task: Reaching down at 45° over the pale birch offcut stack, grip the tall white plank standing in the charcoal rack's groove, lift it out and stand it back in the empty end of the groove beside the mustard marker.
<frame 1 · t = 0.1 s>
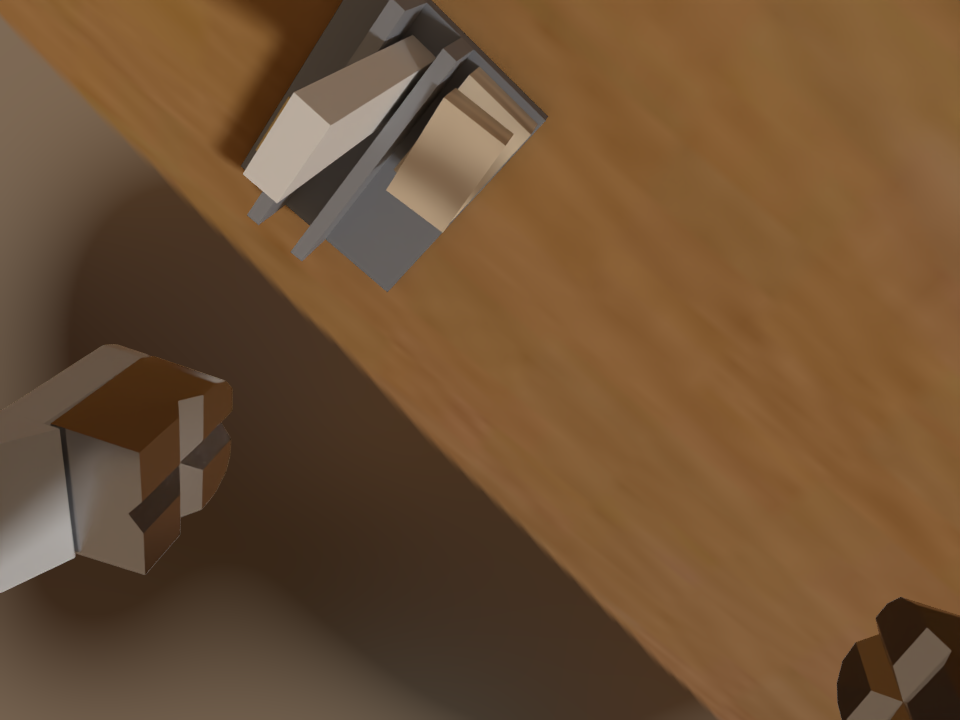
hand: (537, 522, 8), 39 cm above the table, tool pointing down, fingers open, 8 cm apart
plank: (402, 78, 43), point 1 cm above the table, touching rack
rack: (386, 140, 47), on the table
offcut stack: (469, 141, 45), point 1 cm above the table, touching rack
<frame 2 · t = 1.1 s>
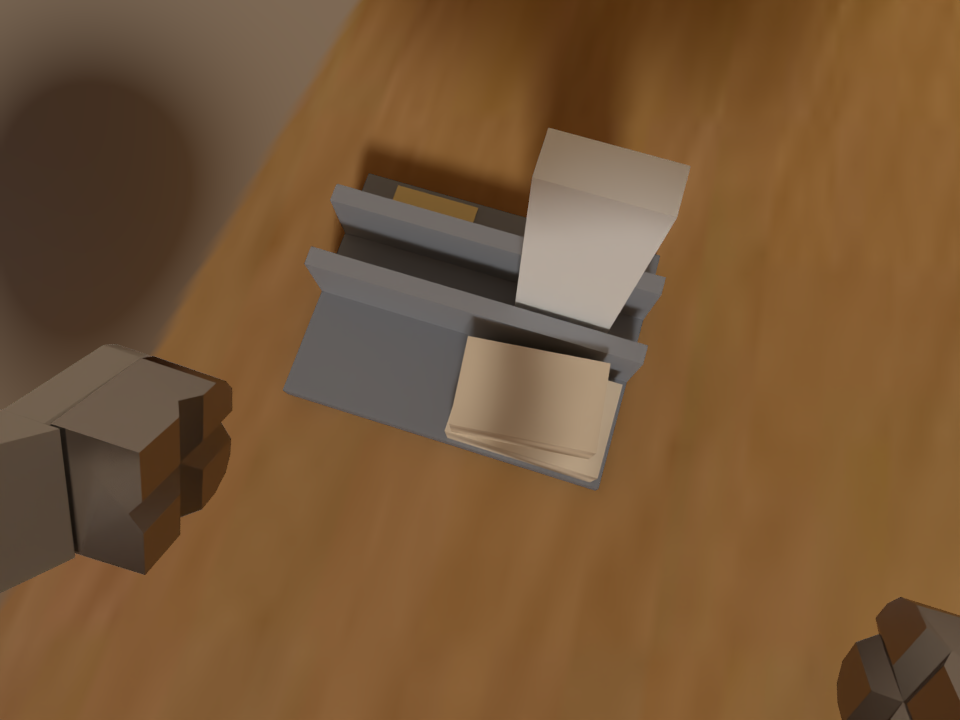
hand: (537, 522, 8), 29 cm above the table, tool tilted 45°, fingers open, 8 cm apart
plank: (559, 319, 38), point 1 cm above the table, touching rack
rack: (476, 326, 39), on the table
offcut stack: (531, 416, 37), point 1 cm above the table, touching rack
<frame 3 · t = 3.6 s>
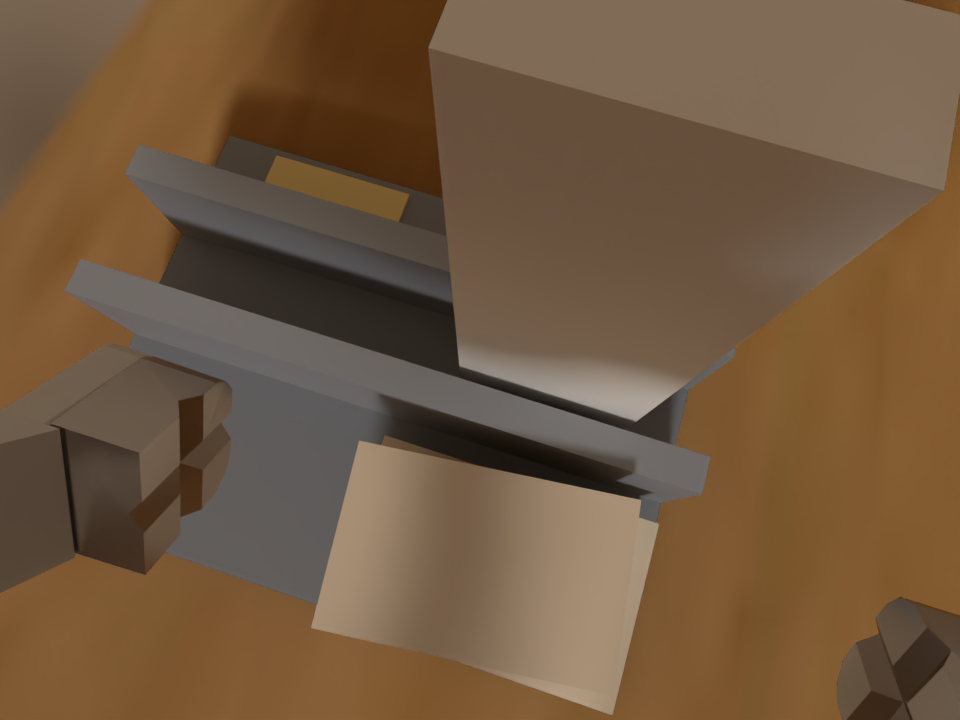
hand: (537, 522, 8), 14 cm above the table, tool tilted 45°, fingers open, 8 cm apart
plank: (544, 388, 22), point 1 cm above the table, touching rack
rack: (402, 396, 23), on the table
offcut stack: (490, 565, 21), point 1 cm above the table, touching rack
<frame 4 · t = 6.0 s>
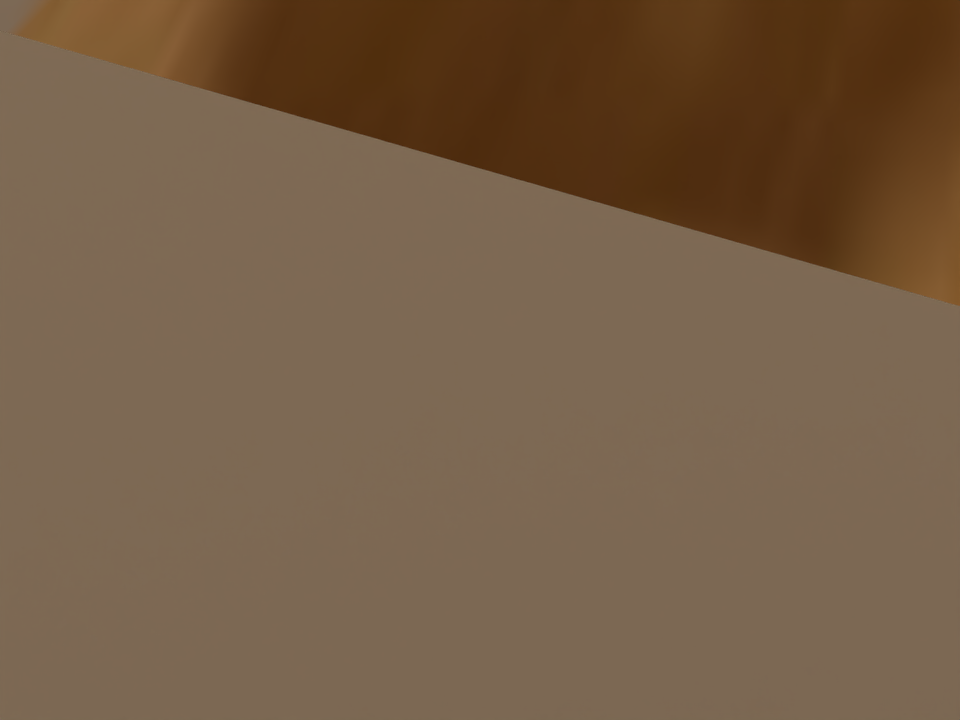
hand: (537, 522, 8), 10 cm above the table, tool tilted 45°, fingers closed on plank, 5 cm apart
plank: (497, 558, 17), point 1 cm above the table, touching gripper, rack
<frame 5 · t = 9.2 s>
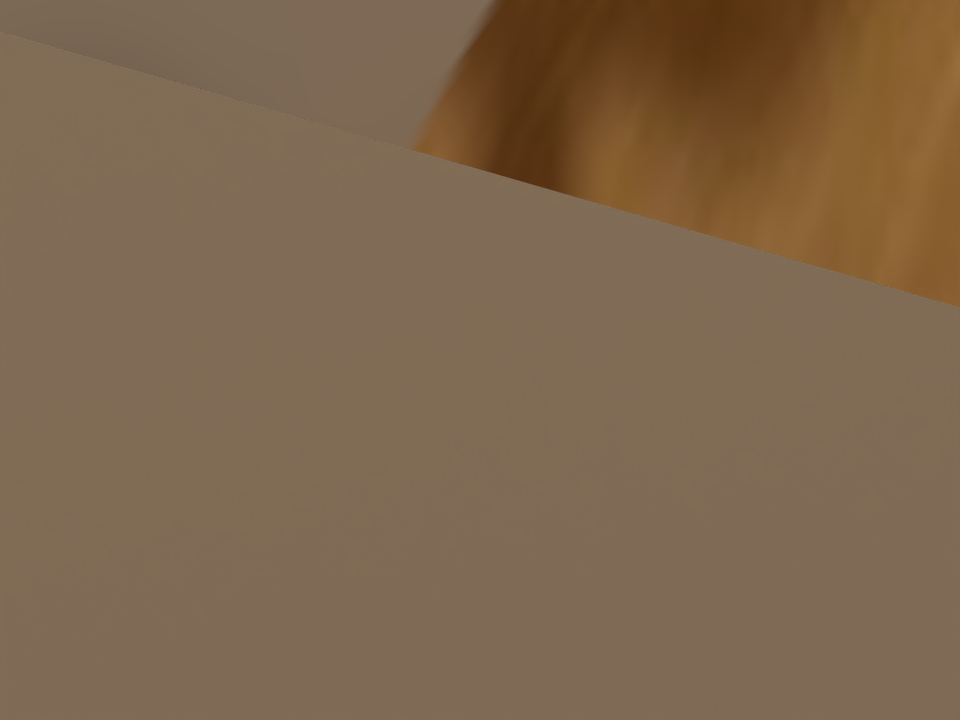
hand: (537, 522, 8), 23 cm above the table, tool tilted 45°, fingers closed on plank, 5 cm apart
plank: (497, 558, 17), point 14 cm above the table, touching gripper
when the fingers open (11 cm above the table, at t = 12.6 s): plank drops 1 cm, resting on rack.
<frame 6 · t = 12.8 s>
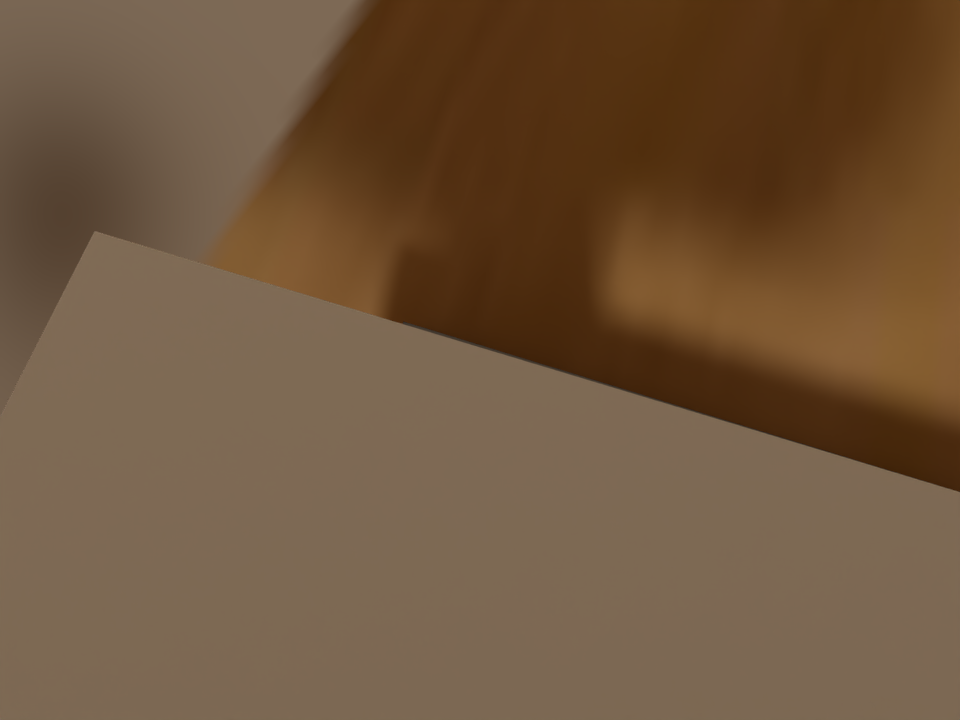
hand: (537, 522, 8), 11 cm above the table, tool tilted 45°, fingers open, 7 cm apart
plank: (498, 558, 18), point 1 cm above the table, touching rack
rack: (634, 661, 18), on the table
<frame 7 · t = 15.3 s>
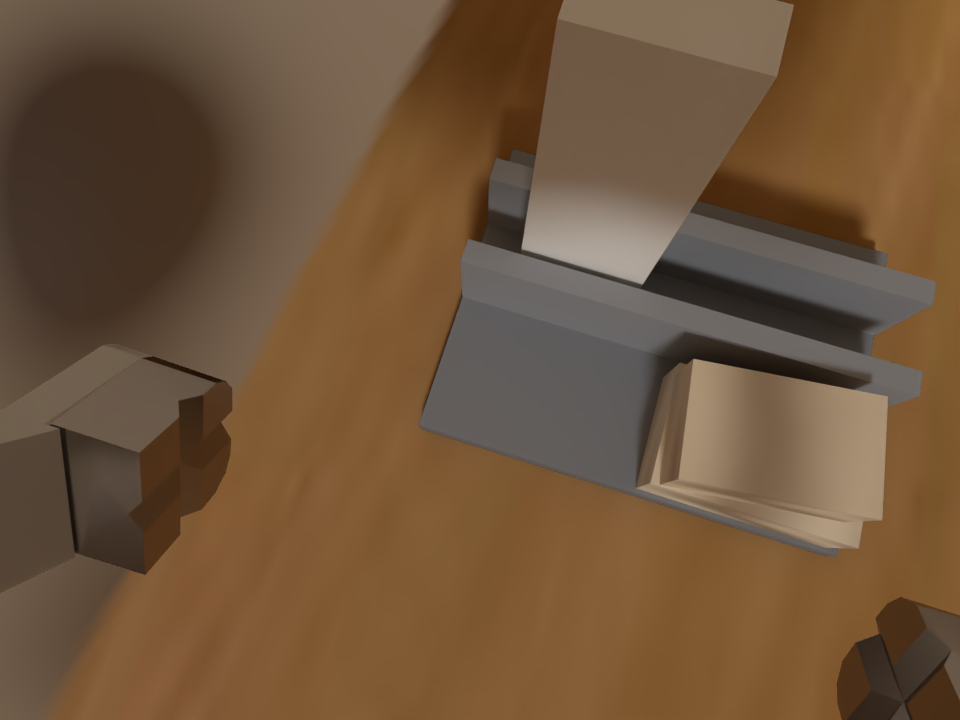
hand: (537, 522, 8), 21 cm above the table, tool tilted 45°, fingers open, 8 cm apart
plank: (575, 278, 31), point 1 cm above the table, touching rack
rack: (656, 342, 31), on the table
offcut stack: (741, 459, 29), point 1 cm above the table, touching rack
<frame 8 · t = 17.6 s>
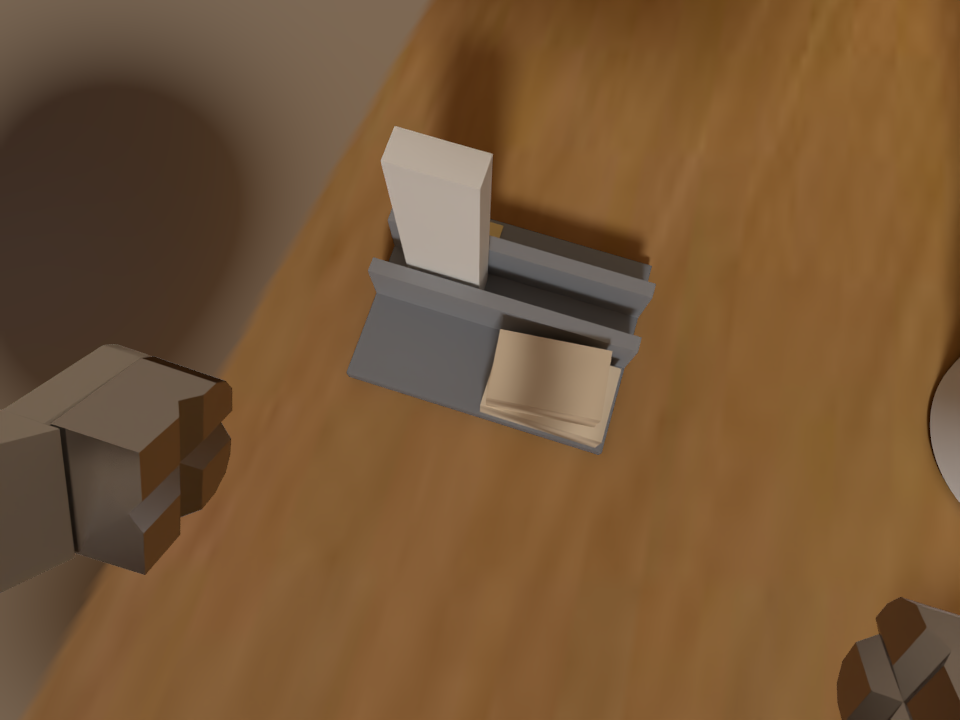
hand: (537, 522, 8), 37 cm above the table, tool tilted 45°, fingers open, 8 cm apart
plank: (449, 281, 48), point 1 cm above the table, touching rack
rack: (502, 322, 48), on the table
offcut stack: (547, 394, 46), point 1 cm above the table, touching rack
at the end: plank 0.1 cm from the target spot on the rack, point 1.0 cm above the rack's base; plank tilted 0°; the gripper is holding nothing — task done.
